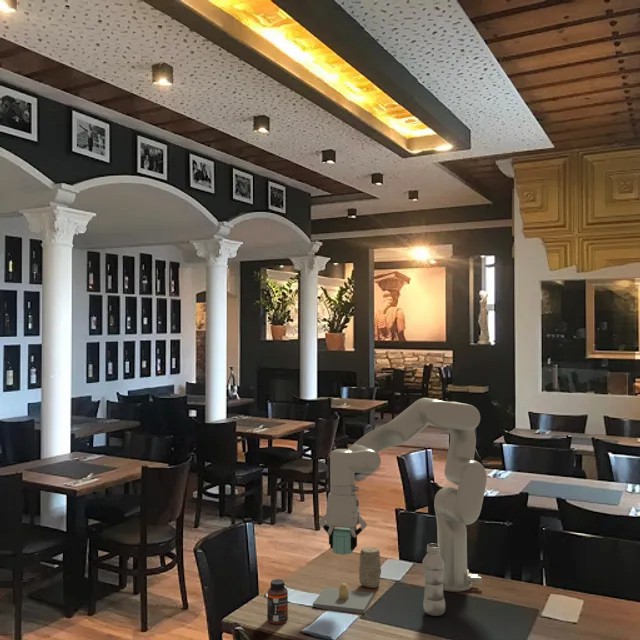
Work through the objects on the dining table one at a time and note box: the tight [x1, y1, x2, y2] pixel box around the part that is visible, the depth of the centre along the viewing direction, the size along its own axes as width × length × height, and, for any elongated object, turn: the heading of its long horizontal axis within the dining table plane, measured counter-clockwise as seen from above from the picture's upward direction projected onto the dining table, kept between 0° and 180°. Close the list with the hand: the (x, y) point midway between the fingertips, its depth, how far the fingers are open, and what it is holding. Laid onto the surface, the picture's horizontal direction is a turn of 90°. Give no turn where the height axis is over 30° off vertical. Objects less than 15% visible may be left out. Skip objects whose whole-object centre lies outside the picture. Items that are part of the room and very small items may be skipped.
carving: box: [358, 546, 382, 588], centre depth 210 cm, size 6×8×12 cm
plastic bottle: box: [422, 543, 447, 617], centre depth 188 cm, size 6×7×20 cm
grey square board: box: [312, 582, 375, 614], centre depth 197 cm, size 16×13×6 cm
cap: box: [332, 527, 354, 555], centre depth 198 cm, size 6×6×6 cm
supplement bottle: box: [266, 578, 289, 626], centre depth 185 cm, size 6×6×11 cm
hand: (342, 547), depth 198 cm, fingers closed on cap, 6 cm apart
